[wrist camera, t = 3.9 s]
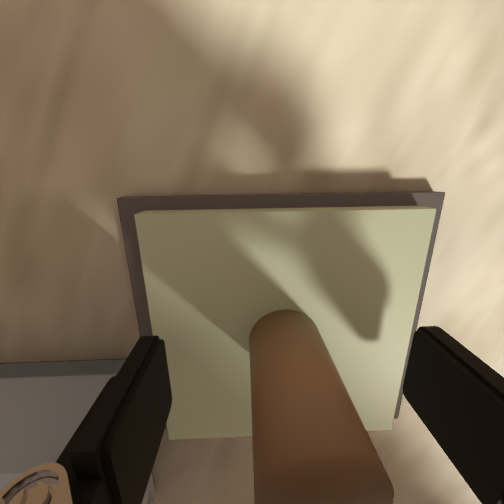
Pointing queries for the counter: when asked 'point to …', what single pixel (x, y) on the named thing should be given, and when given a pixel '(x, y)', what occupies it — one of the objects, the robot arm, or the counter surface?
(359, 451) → the lid
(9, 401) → the dish
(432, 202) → the mat
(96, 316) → the counter surface
